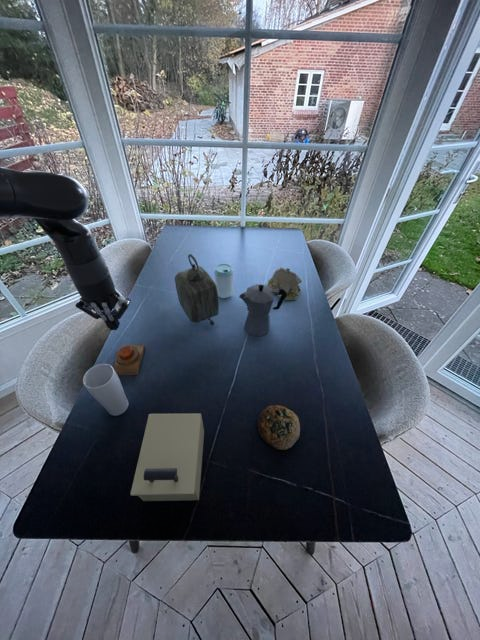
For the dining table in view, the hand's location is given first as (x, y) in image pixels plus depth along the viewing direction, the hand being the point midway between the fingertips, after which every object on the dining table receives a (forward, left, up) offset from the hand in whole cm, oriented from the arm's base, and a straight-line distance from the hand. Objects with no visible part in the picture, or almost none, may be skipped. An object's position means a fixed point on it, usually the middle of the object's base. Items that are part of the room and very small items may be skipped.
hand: (114, 327), depth 70 cm
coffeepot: (+42, -12, -15) cm, 46 cm away
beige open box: (-2, -34, -15) cm, 37 cm away
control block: (0, 0, -15) cm, 15 cm away
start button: (0, 0, -12) cm, 12 cm away
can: (+42, +10, -15) cm, 45 cm away
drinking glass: (-8, -13, -15) cm, 21 cm away
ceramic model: (+63, -2, -15) cm, 64 cm away
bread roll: (+23, -42, -15) cm, 50 cm away
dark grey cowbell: (+27, +4, -15) cm, 31 cm away
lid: (-2, -34, -6) cm, 35 cm away
